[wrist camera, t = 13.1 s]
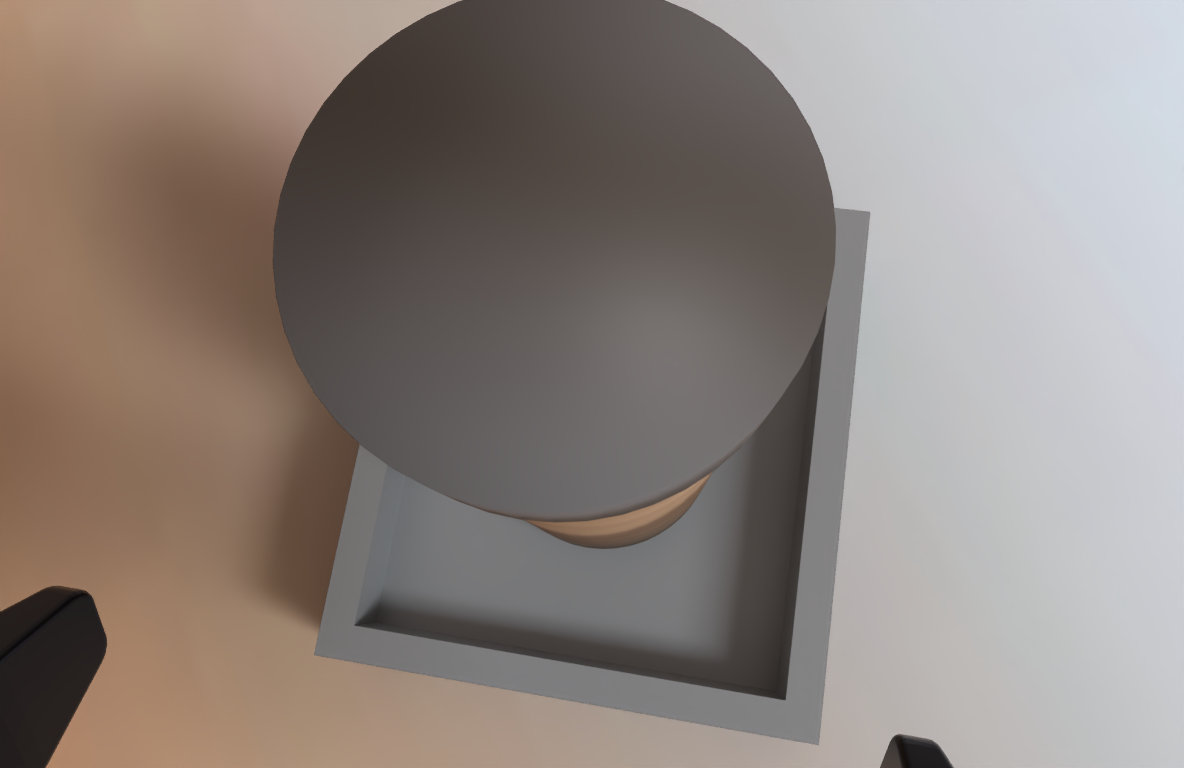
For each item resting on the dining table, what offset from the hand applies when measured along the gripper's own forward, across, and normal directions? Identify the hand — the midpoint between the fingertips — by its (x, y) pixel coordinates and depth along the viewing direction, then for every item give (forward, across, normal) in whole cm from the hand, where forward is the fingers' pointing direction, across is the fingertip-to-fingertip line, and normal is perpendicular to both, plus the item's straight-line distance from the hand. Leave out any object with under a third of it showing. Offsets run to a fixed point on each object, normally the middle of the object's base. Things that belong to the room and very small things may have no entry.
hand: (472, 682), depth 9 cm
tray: (+13, 0, +6) cm, 14 cm away
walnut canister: (+12, 0, +5) cm, 13 cm away
